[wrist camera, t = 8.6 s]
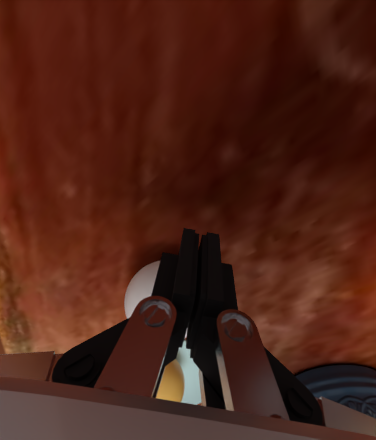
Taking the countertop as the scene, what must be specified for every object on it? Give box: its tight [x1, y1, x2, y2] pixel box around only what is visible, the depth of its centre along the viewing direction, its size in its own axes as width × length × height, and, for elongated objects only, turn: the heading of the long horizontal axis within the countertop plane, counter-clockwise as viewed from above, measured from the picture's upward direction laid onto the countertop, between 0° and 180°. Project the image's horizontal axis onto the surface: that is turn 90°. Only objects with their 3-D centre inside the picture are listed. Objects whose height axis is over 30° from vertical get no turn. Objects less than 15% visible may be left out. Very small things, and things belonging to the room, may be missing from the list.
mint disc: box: [176, 340, 201, 405], centre depth 26 cm, size 14×14×1 cm
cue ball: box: [124, 261, 187, 338], centre depth 17 cm, size 6×6×6 cm
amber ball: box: [156, 359, 185, 402], centre depth 22 cm, size 6×6×6 cm
